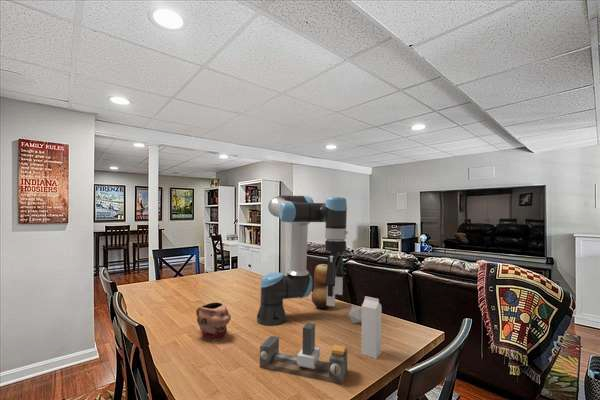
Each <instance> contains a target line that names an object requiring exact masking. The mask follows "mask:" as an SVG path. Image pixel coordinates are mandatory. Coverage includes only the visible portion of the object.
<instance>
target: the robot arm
mask: <svg viewBox="0 0 600 400" xmlns="http://www.w3.org/2000/svg"><path fill="white" fill-rule="evenodd" d="M347 205H348V204H347V199H346V198H345V197H339V196H329V197H327V198H325V202H314V200H313V198H312V197H311V196H307V195H286V194H284V195H278V196H275V197H273V198H272V199H271V200H270V201H269V203H268V207H267V208H268V212H269V213H270V214H271V215H272V216H274V217H276V218H279V220H280V221H281V222H283V223H290V224H291V233H290V234H291V235H290V237H291V238H290V239H291V240H290V260H289V261H290V262H289V264H290V266H289V270H287V272H286V273H287V274H286V275H284V273H282V272H272V273H267V274H264V275H263V276H262V277H261V280H260V303H259V304H260V305H259V307H258V308H259V309H258V311H257V314H256V322H257V323H258V324H260V325H262V326H279V325H282V324H284V323H285V322H286V321H287V314H286V311H285V307H284V300H287V299H289V300H290V299H303V298H307V297H309V296H310V295H311V294H312V292H313V277H312V275H311V274H310V271H308V269H307V256H308V255H307V254H308V253H307V252H308V233H309V232H308V231H309V230H308V228H309V227H308V226H309V224H310V223H325V233H324V234H325V235H324V238H325V241H324V250H325V251H326V252H330V255H327V264H326V265H327V272H326V281H325V283H324V286H327V303H326V305H328V306H329V307H335V306H336V295H339V296H342V295H343V281H344V280H343V277H344V278H345V276H346V275H345V274H346V273H345V272H344V261H343V253H345V252H346V251H347V241H346V240H347V235H348V234H349V231H347V216H348V215H347V211H348V207H347Z"/></svg>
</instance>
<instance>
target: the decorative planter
mask: <svg viewBox="0 0 600 400" xmlns="http://www.w3.org/2000/svg"><path fill="white" fill-rule="evenodd" d="M195 313H196V317H197V318H196V321H197V324H198V326H199V329H200V333H201V336H202V338H203V339H205V340H207V341H218V340H221V339H223V338H225V337H226V335H227V331H228V330H227V325H228V324H229V323H230V321H231V318H232V316H231V314H230V313H229V310H228V308H227V305H226V304H223V303H221V302H210V303H205V304H203V305H200V306H198V307H197V308H196V310H195Z"/></svg>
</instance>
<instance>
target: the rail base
mask: <svg viewBox="0 0 600 400" xmlns="http://www.w3.org/2000/svg"><path fill="white" fill-rule="evenodd" d="M279 345H280V337H279V336H274V335H269V337H268V338H267V339H265V340H264V342H262V344H261V345H259V368H262V369H267V370H272V371H277V372H282V373H286V374H290V375H291V374H292V375H296V376H300V377H305V378H310V379H315V380H319V381H325V382H328V383H332V384H333V383H334V384H338V383H339V384H338V385H342V384H344V382H345V379H346V376H347V372H348V348H346V350H345V352H344V355H343V357H342V356H336V355H334V353H332V352H331V354H330V357H328V358H329V360H328V361H329V362H328V361H324V360H319V361H317V362H316V368H315V369H311V368H306V367H301V366H298V364H297V355H292V354H288V353H287V354H286V353H280V347H279Z"/></svg>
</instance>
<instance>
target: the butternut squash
mask: <svg viewBox="0 0 600 400" xmlns="http://www.w3.org/2000/svg"><path fill="white" fill-rule="evenodd" d="M314 269H315V270H314V274H313V285H314V286H313V289H312V291H311V294H310V295H311V296H310V297H311V301H312V304H313V305H314V306H315V307H316V308H319V309H328V307H330V306H328V305H326V303H327V286H324V283H325V281H326V272H327V264H325V263H322V264H317V265H316V266H315V268H314Z"/></svg>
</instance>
